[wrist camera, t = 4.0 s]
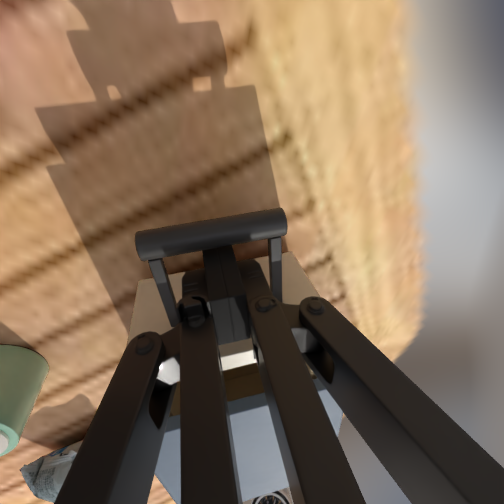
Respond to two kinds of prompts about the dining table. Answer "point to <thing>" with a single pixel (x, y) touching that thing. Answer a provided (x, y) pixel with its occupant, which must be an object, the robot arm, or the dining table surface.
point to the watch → (273, 498)
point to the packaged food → (50, 472)
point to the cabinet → (242, 446)
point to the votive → (18, 391)
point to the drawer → (170, 286)
